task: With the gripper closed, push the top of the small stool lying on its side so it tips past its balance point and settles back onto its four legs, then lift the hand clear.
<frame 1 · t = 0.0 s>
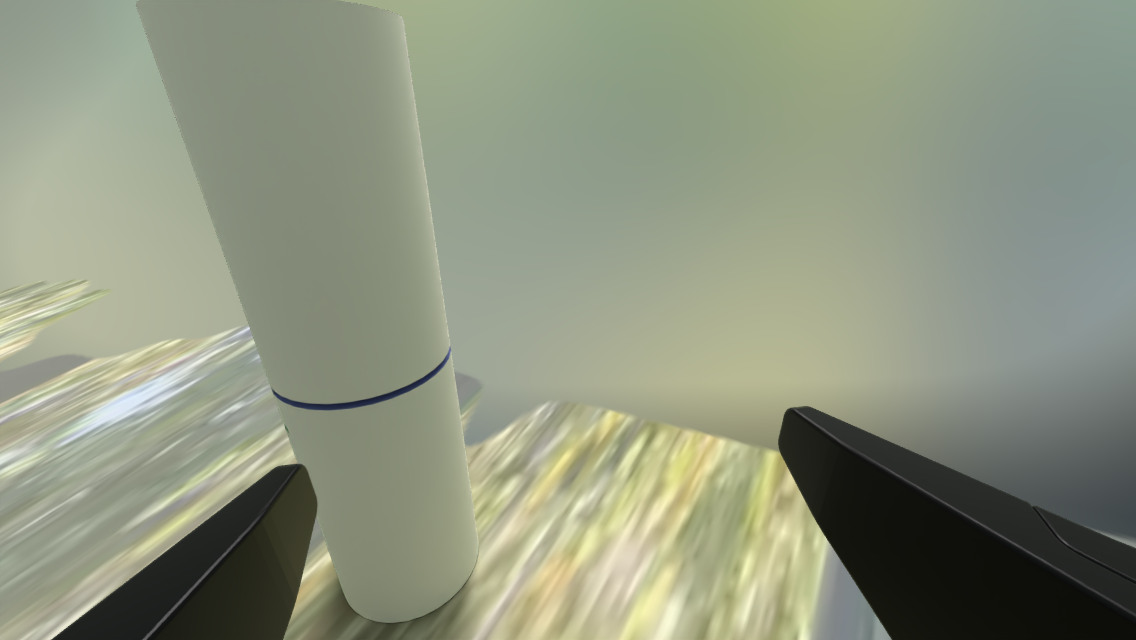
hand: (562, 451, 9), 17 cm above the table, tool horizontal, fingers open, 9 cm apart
cylindrical container: (413, 558, 25), on the table
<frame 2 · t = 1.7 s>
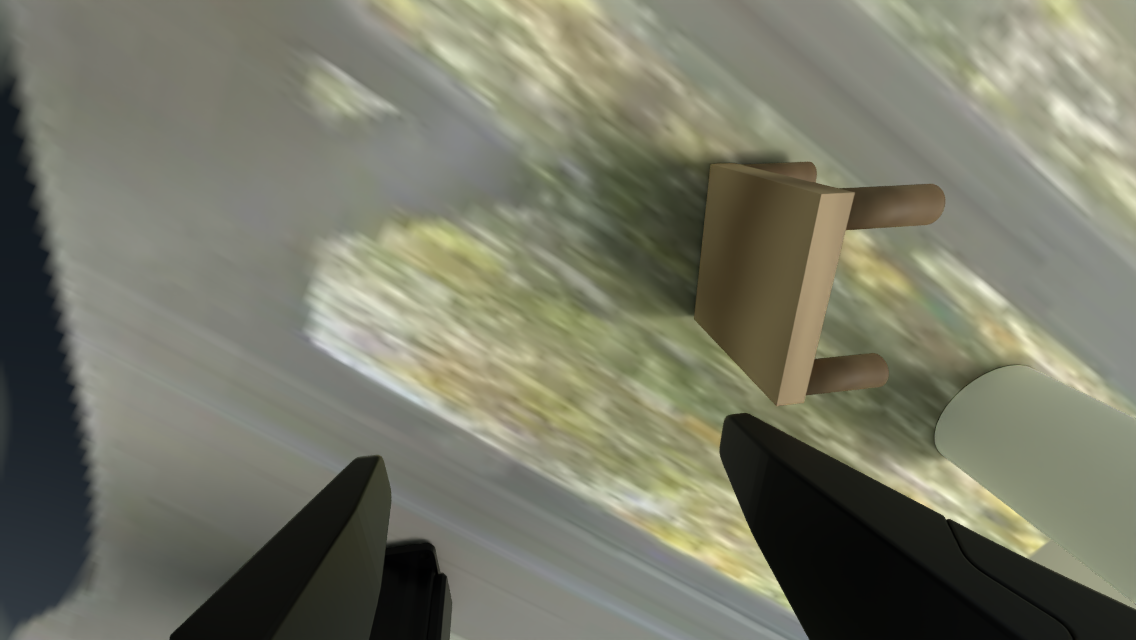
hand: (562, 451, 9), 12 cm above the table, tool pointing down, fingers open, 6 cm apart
cylindrical container: (985, 413, 28), on the table
stool: (790, 269, 17), point 4 cm above the table, hinge at 90.1°
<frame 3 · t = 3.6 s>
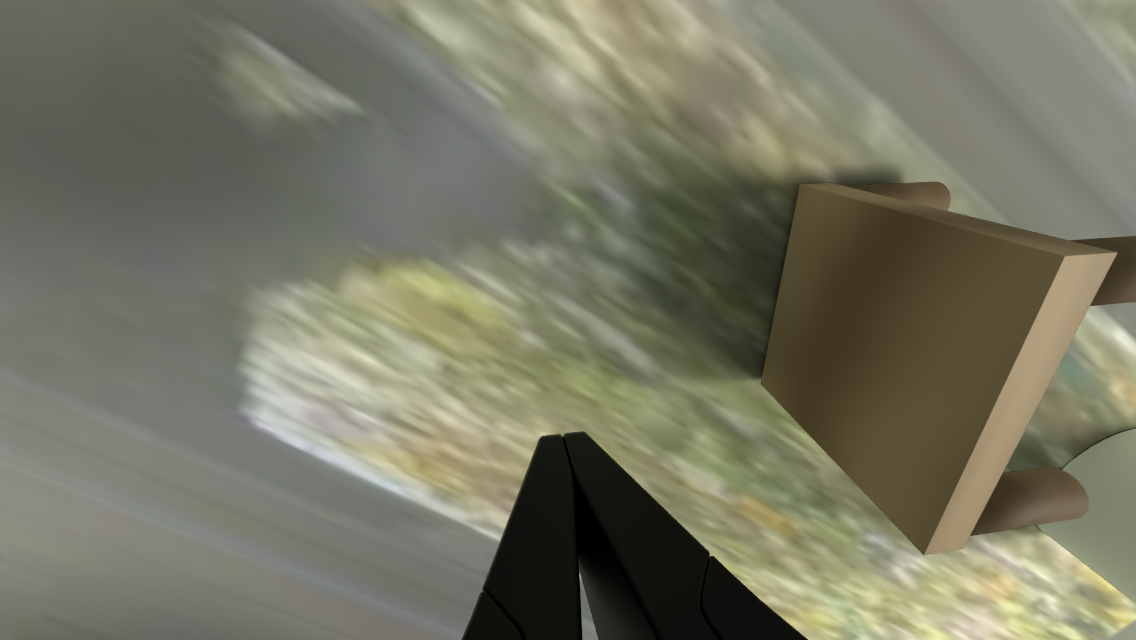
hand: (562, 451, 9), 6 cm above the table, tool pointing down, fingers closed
cylindrical container: (1097, 481, 23), on the table
stool: (922, 338, 12), point 4 cm above the table, hinge at 90.1°
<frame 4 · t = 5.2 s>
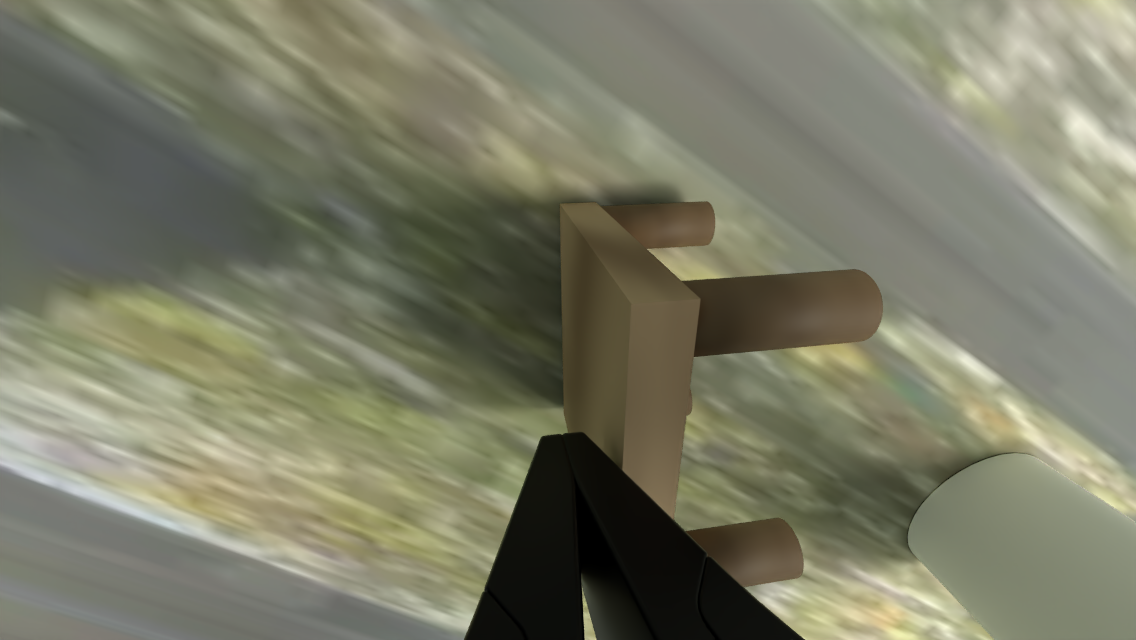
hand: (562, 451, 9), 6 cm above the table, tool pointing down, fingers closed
cylindrical container: (973, 508, 22), on the table
stool: (663, 373, 11), point 4 cm above the table, hinge at 89.9°, touching gripper
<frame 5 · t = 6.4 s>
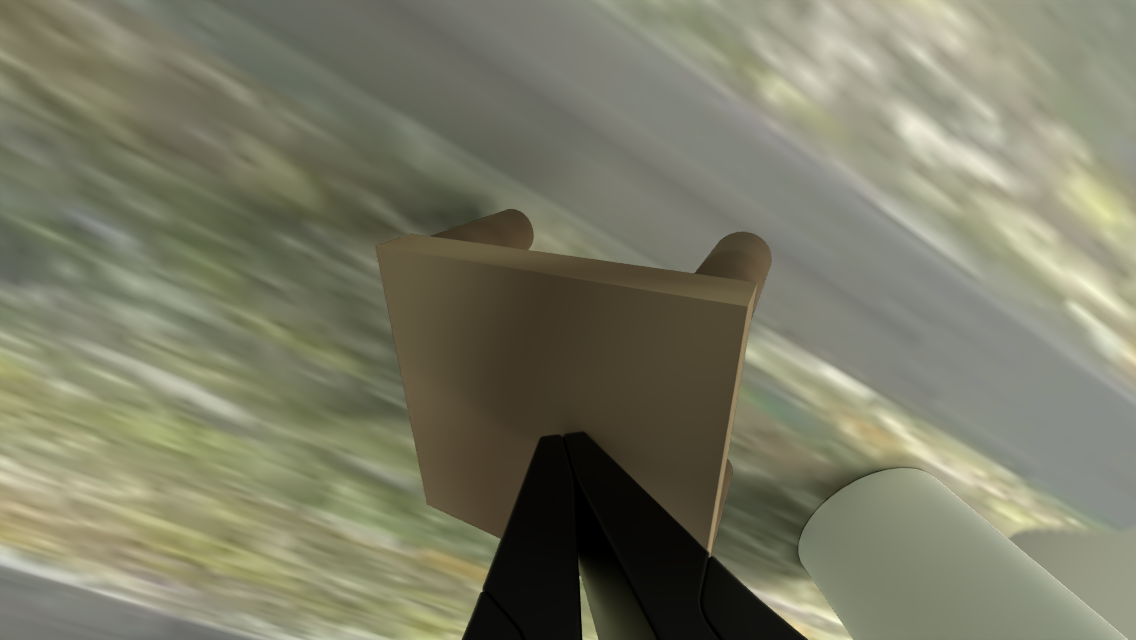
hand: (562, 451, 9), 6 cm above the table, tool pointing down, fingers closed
cylindrical container: (867, 523, 21), on the table
stool: (579, 386, 11), point 4 cm above the table, hinge at 36.2°
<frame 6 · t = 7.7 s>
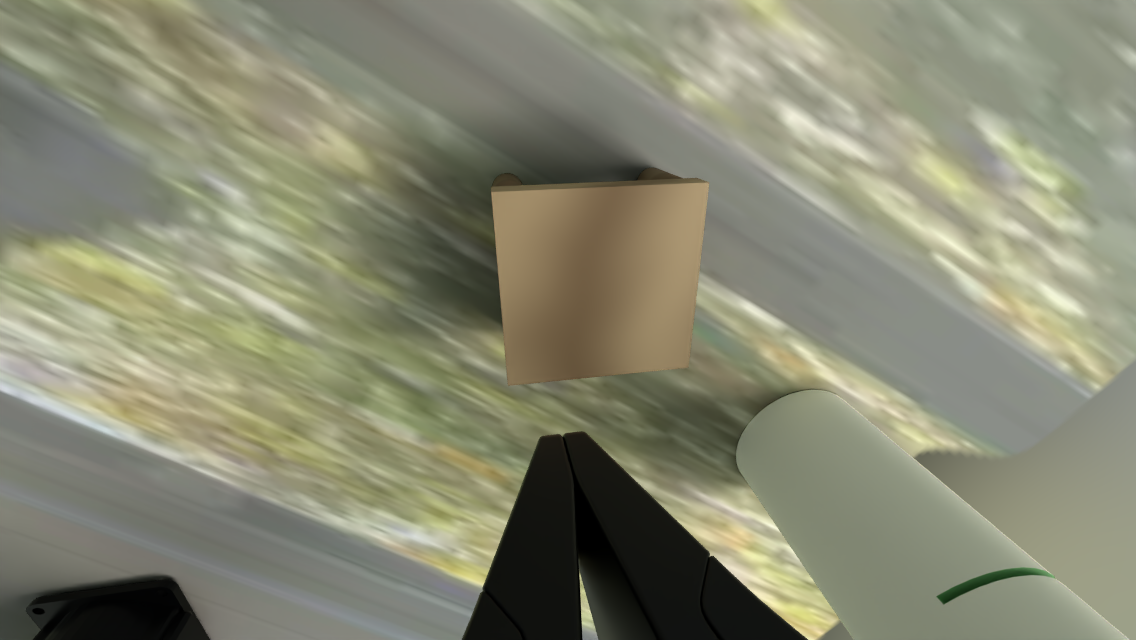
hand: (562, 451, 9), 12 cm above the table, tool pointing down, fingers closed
cylindrical container: (792, 439, 27), on the table
stool: (590, 271, 18), point 2 cm above the table, hinge at -0.2°
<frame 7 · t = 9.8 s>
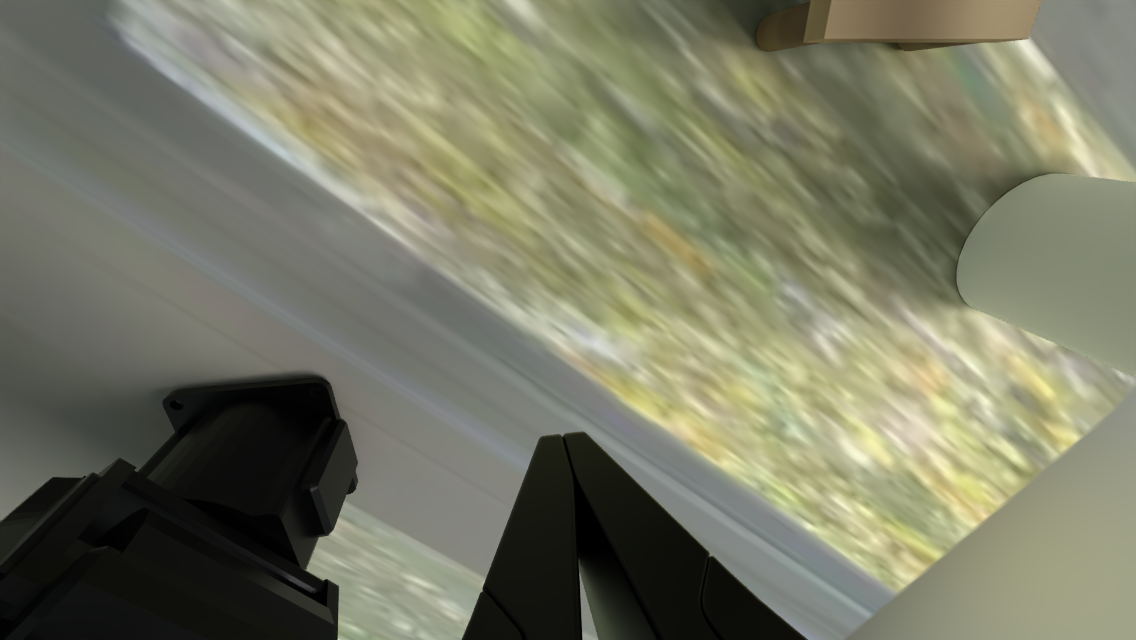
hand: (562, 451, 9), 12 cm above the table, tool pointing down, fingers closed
cylindrical container: (1019, 246, 23), on the table
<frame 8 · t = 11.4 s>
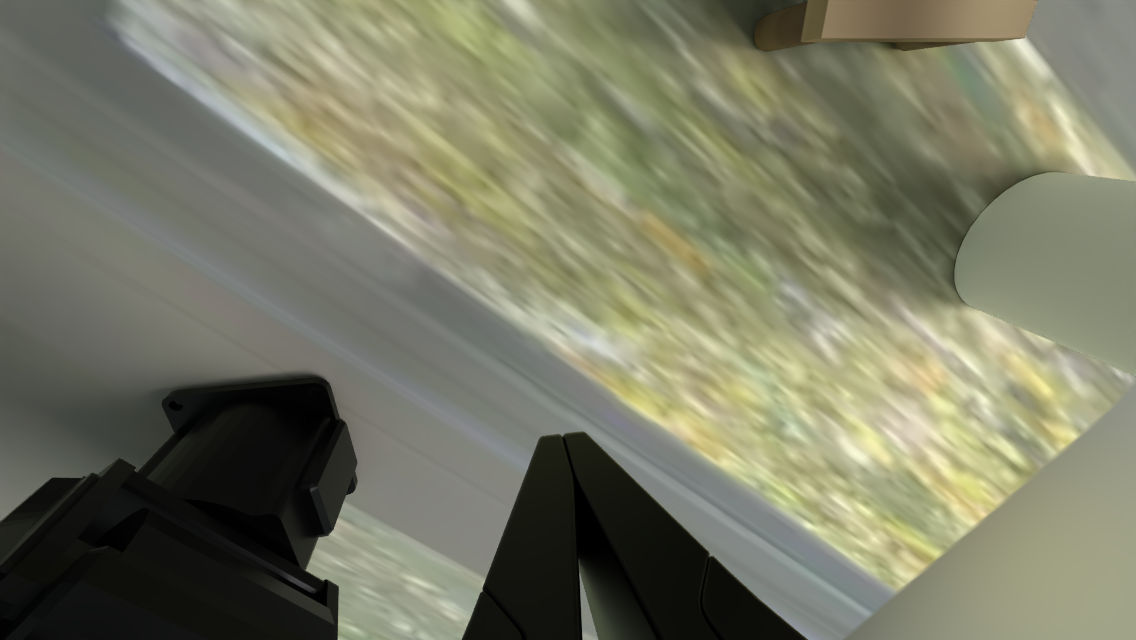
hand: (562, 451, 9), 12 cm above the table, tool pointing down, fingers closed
cylindrical container: (1017, 244, 23), on the table
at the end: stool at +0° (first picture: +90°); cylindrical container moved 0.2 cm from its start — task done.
